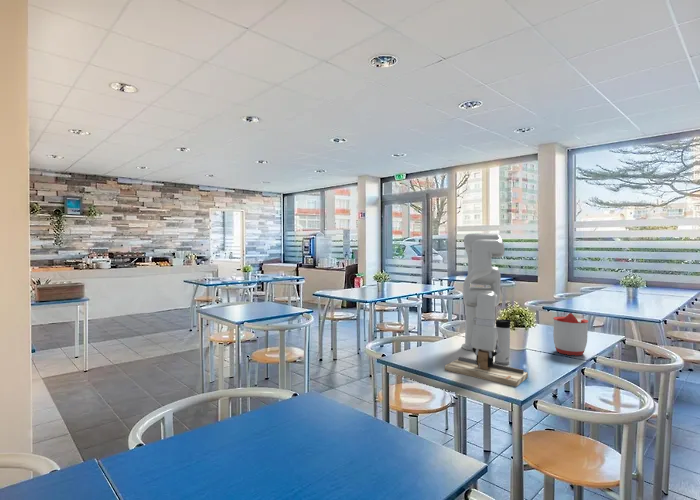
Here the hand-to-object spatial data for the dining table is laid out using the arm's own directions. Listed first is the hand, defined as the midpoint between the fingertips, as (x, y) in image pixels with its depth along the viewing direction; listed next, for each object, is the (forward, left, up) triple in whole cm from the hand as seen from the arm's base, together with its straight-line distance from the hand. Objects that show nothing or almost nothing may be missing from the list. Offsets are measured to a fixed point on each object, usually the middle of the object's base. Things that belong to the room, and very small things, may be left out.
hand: (484, 364), depth 176 cm
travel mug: (-19, +1, -3) cm, 19 cm away
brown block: (+2, 0, -1) cm, 2 cm away
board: (+1, +1, -3) cm, 4 cm away
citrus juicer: (-60, +20, -4) cm, 63 cm away
